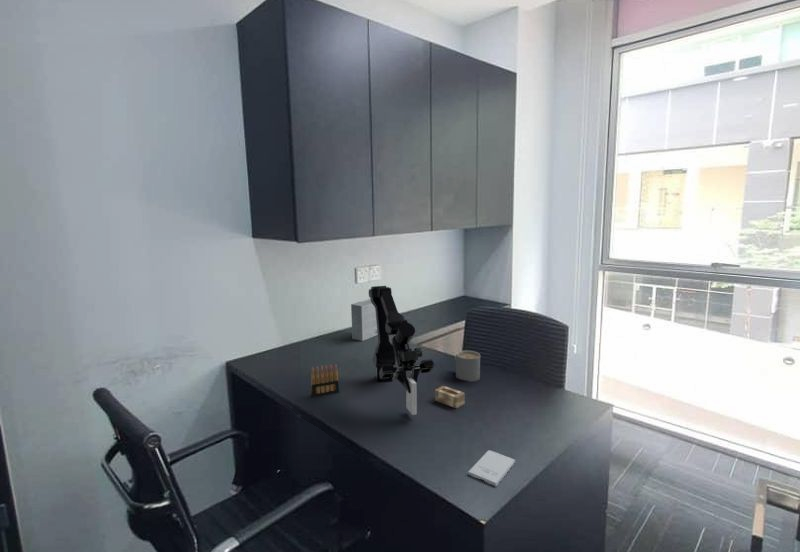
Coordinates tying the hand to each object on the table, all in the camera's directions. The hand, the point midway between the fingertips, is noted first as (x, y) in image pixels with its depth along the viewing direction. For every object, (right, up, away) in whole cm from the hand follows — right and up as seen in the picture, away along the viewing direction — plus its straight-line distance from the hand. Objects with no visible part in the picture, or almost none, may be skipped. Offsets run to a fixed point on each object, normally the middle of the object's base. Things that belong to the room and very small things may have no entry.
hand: (412, 392), depth 137 cm
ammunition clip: (-33, -7, +21) cm, 40 cm away
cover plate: (0, -7, +2) cm, 7 cm away
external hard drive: (+21, -14, -25) cm, 36 cm away
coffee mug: (+24, -4, +38) cm, 45 cm away
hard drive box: (-23, +5, +92) cm, 95 cm away
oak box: (+14, -7, +13) cm, 20 cm away
